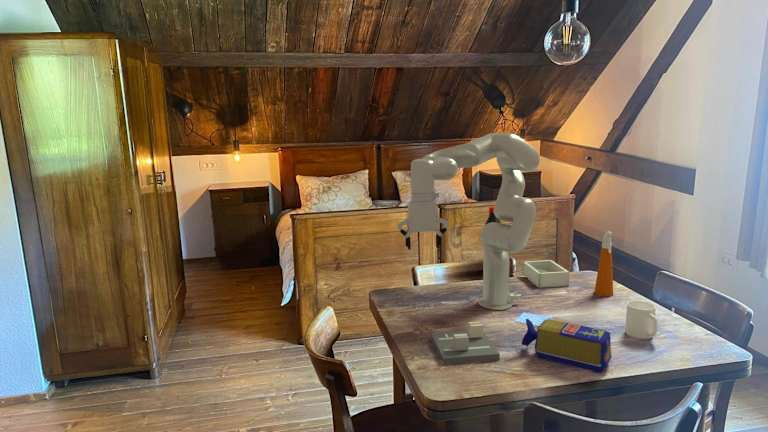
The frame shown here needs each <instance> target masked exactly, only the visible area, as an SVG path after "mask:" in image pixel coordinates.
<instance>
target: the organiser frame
mask: <svg viewBox="0 0 768 432" xmlns="http://www.w3.org/2000/svg"><path fill="white" fill-rule="evenodd" d="M535 268H539V269H542V270H545V271H548V272H547V273H540V272H539V271H537V270H536V269H535ZM522 276H524V277H525V278H526V277H527V278H528V279H527V278H526V279H527V280H529V282H531V283H532V284H533V285H535V286H536V287H538V288H539V289H541V288H555V287H556V288H557V287H568V286H570V271H568V270H567V269H565V268H564V267H563V266H561V265H559V264H558V263H556V262H555V261H554V260H552V259H543V260H527V261H526V260H525V261H522Z"/></svg>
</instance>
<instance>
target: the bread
mask: <svg viewBox="0 0 768 432" xmlns="http://www.w3.org/2000/svg"><path fill="white" fill-rule="evenodd" d="M525 323H526V327H527V330H526V333H525V334H524V336H523V337H522V340H521V345H522V346H526V347H529V345H531V344H532V343H533V342H534V341H535V344H534V352H535V356H536V357H537V358H538V359H542V360H543V359H544V360H548V361H552V362H556V363H559V364H563V365H567V366H571V367H576V368H579V369H582V370H583V369H584V370H587V371H592V372H595V373H600V374H602V373H603V372H604V371H605V369H606V368H607V367H608V364H609V363H610V361H611V359H612V357H613V356H612V348H611V347H612V346H611V332H609V331H607V330H604V329H600V328H594V327H590V326H585V325H581V324H576V323H572V322H566V321H561V320H556V319H545V320H543V321H542V322H541V323H539V325H538V327H537V329H535V326H534V323H533V322H532V321H531V320H530V319H529V318H525Z"/></svg>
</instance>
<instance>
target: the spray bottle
mask: <svg viewBox="0 0 768 432" xmlns="http://www.w3.org/2000/svg"><path fill="white" fill-rule="evenodd" d="M612 235H613V232H612V231H606V232H604V234H603V238H602V242H601V249H600V255H599V261H598V265H597V266H598V268H597V273H596V280H595V285H594V286H595V287H594V294H595V295H597V296H600V297H610V296H611V297H612V296H613V295H614V282H613V281H614V279H613V278H614V277H613V275H614V274H613V254H612V251H613V249H612V245H613V244H612Z"/></svg>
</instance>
